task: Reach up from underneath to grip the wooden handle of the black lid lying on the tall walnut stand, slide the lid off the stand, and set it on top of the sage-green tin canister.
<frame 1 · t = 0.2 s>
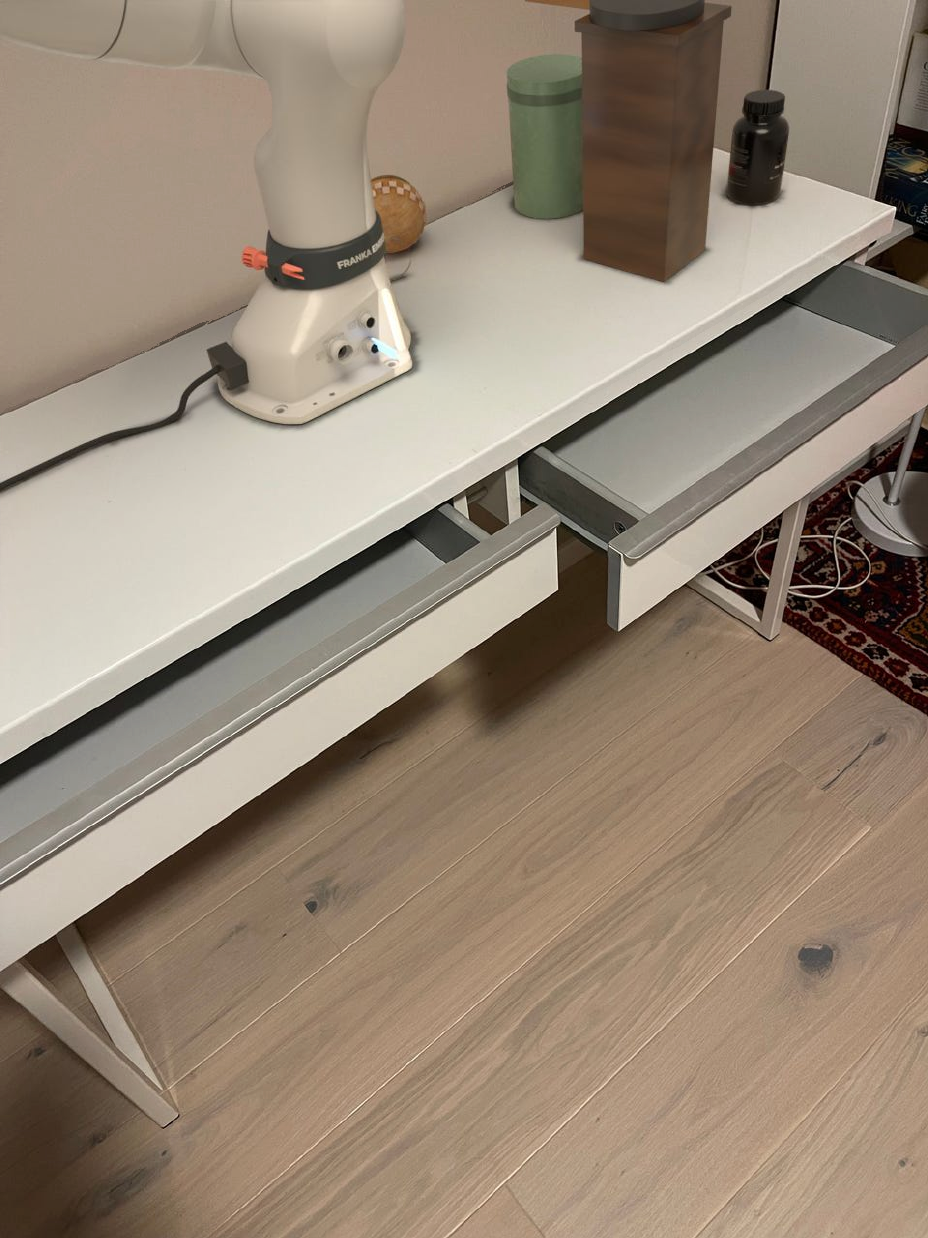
lid: (646, 12, 103), point 26 cm above the table, touching stand
tin: (551, 201, 133), on the table
stand: (643, 254, 121), on the table
supplement bottle: (752, 196, 129), on the table
toy: (396, 268, 119), point 2 cm above the table
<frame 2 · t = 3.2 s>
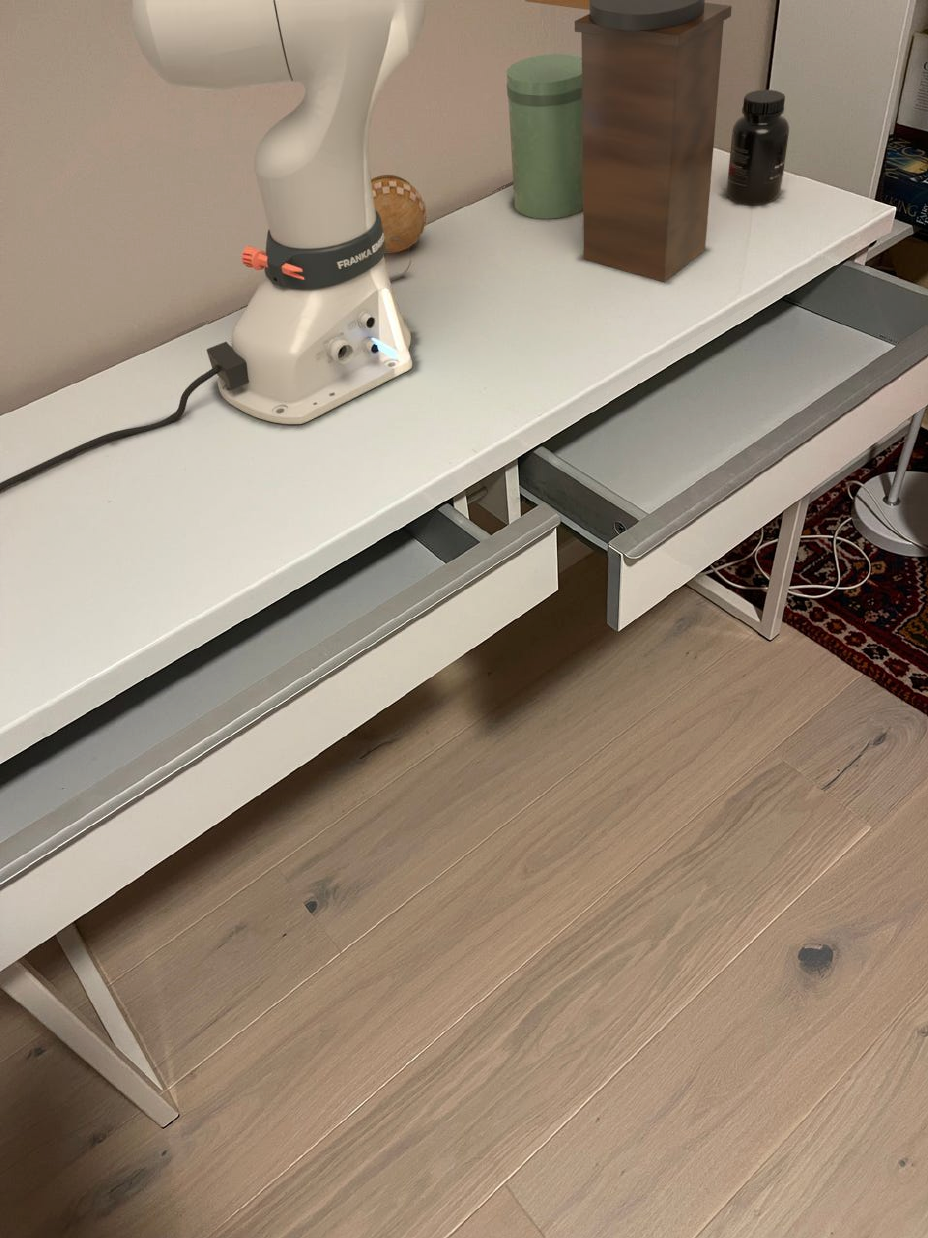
nothing on the table moved.
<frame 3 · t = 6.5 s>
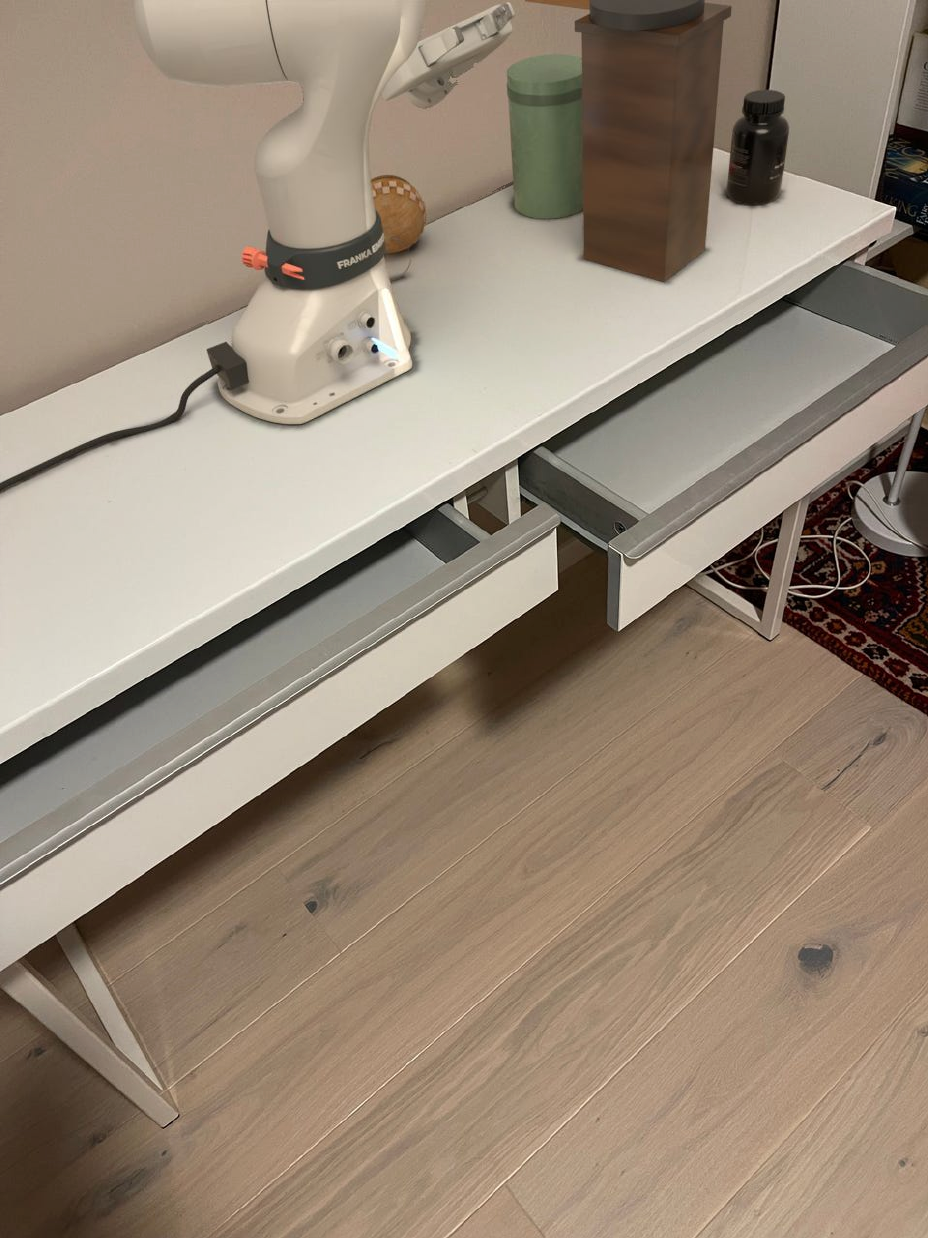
hand: (484, 21, 116), 23 cm above the table, tool pointing upward, fingers open, 8 cm apart
nothing on the table moved.
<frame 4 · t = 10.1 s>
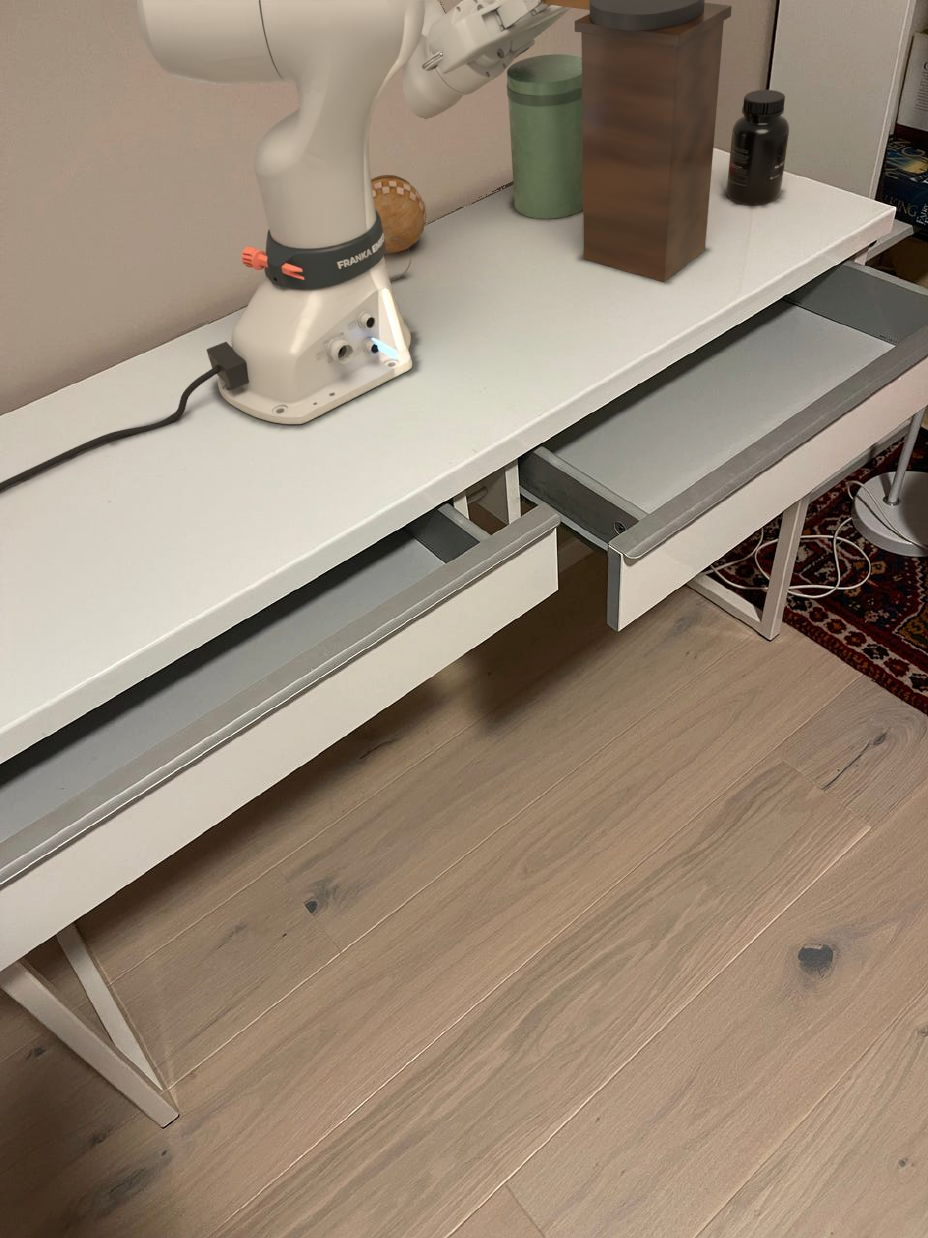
lid: (646, 12, 103), point 26 cm above the table, touching gripper, stand
everything else where it was.
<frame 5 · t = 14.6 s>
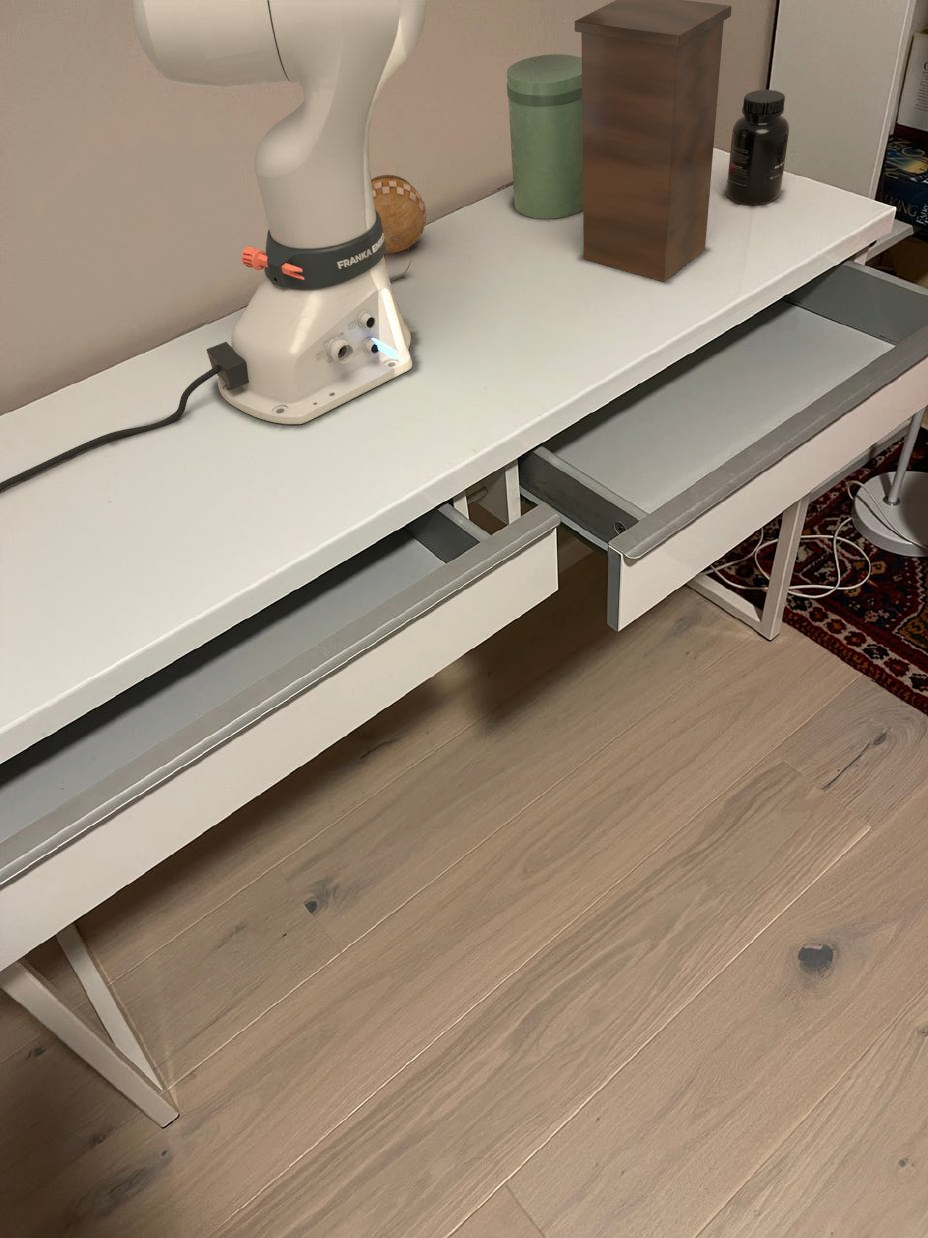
when the fingers open (18 cm above the table, at t = 19.0 s): lid stays where it is, resting on tin.
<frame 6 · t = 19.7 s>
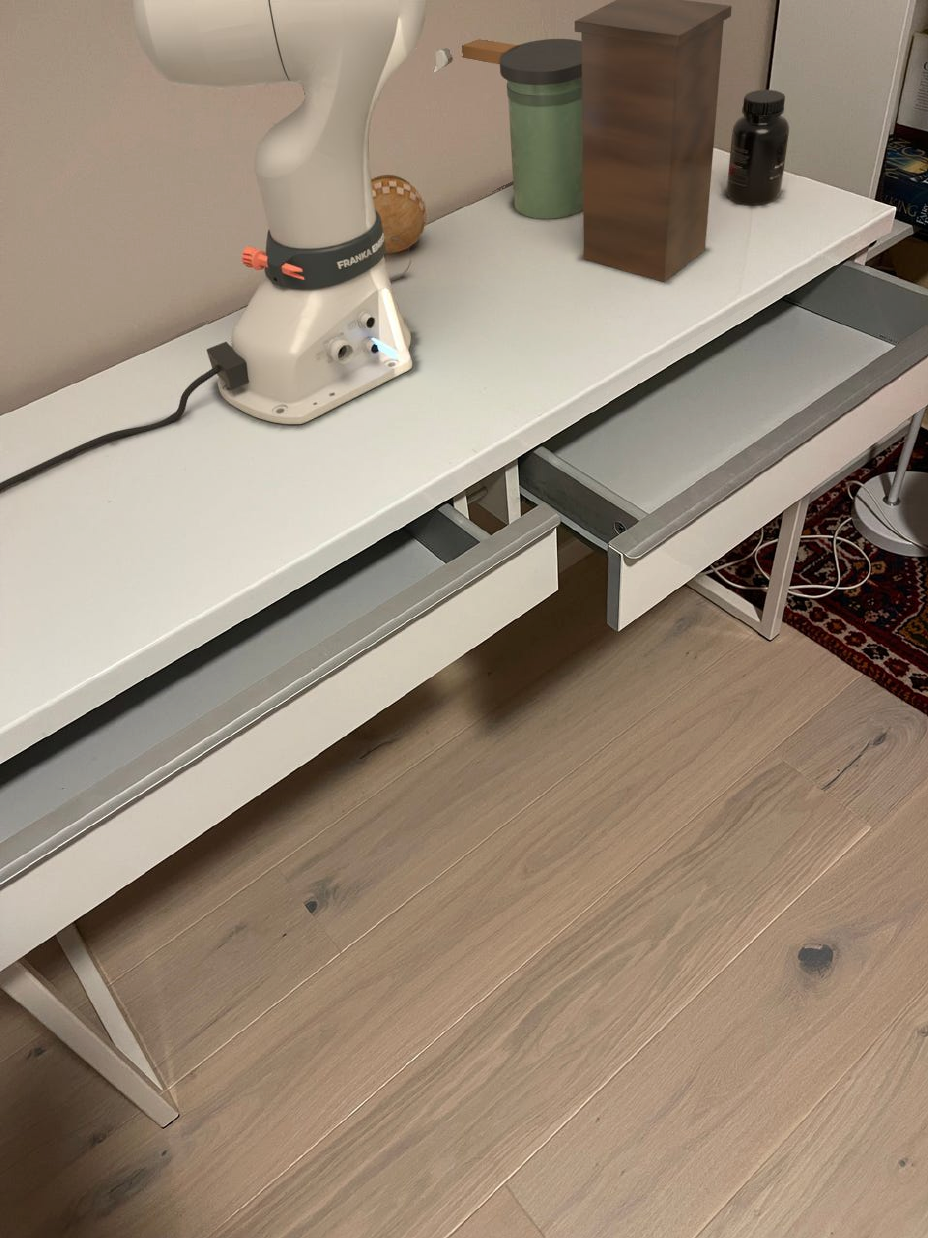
hand: (471, 43, 127), 18 cm above the table, tool pointing upward, fingers open, 8 cm apart
lid: (547, 67, 122), point 17 cm above the table, touching tin
everything else where it was.
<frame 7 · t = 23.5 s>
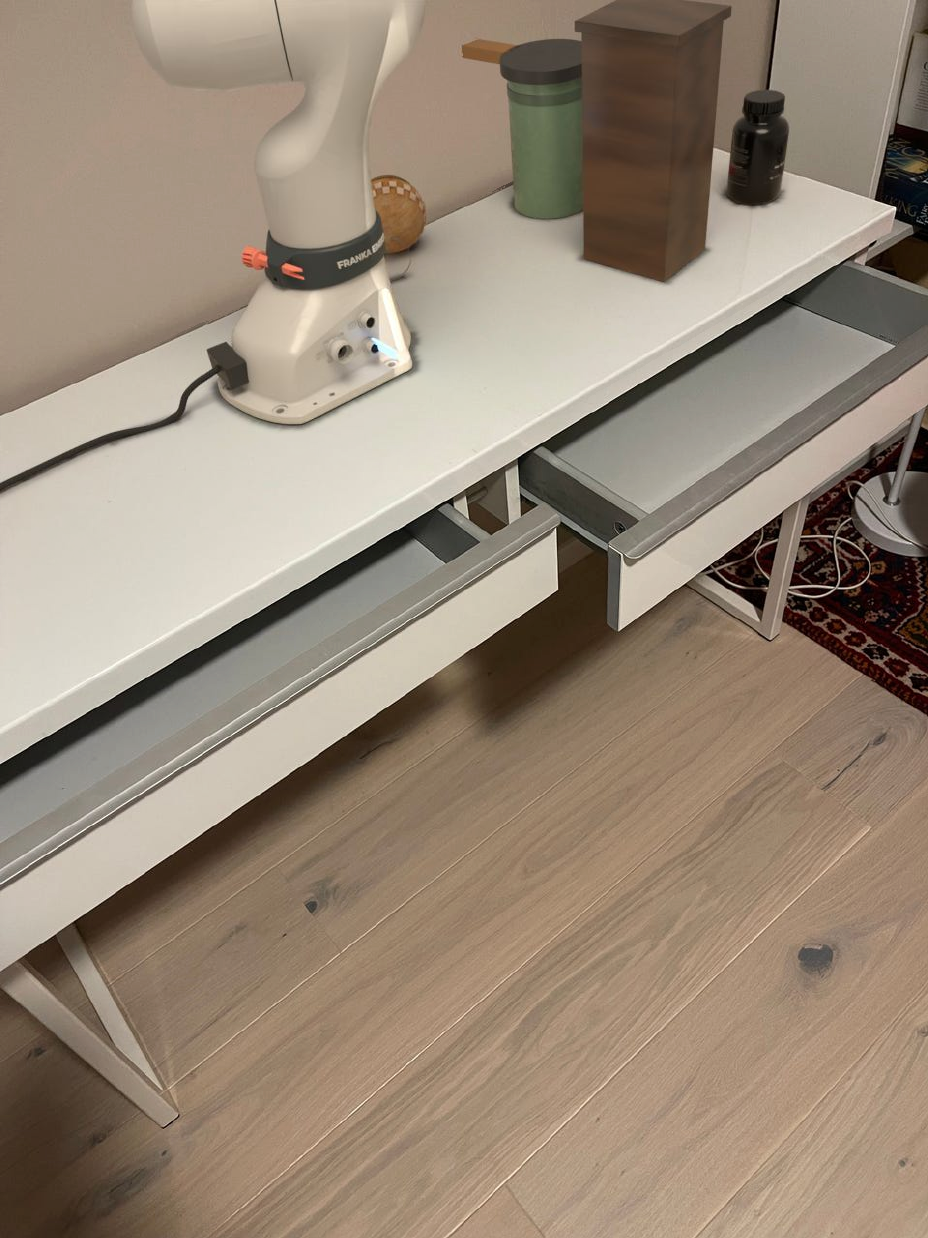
nothing on the table moved.
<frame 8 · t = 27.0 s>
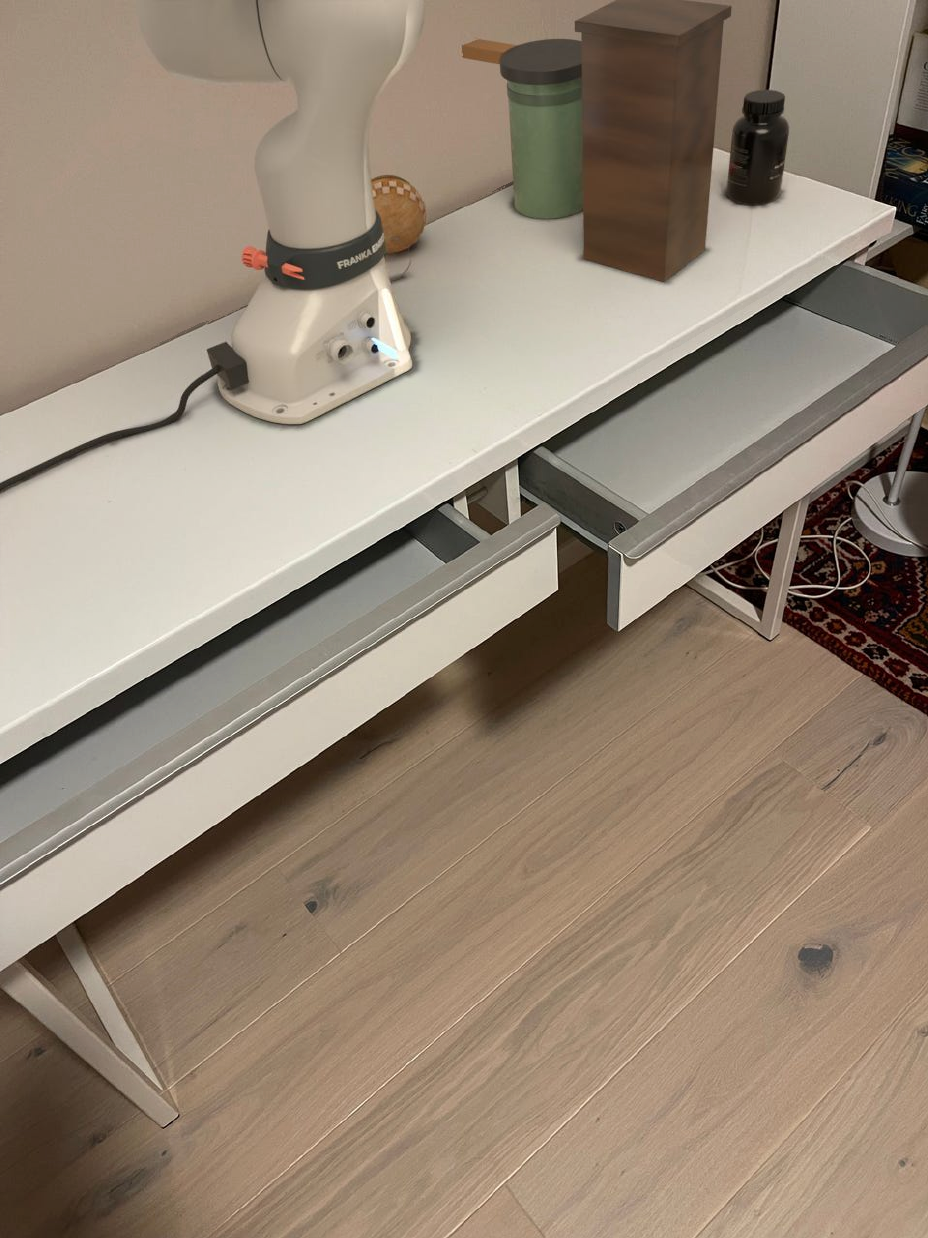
nothing on the table moved.
at the end: lid 0.0 cm off-centre on the tin, point 16.5 cm above the tin's base; lid tilted 0°; the gripper is holding nothing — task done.
